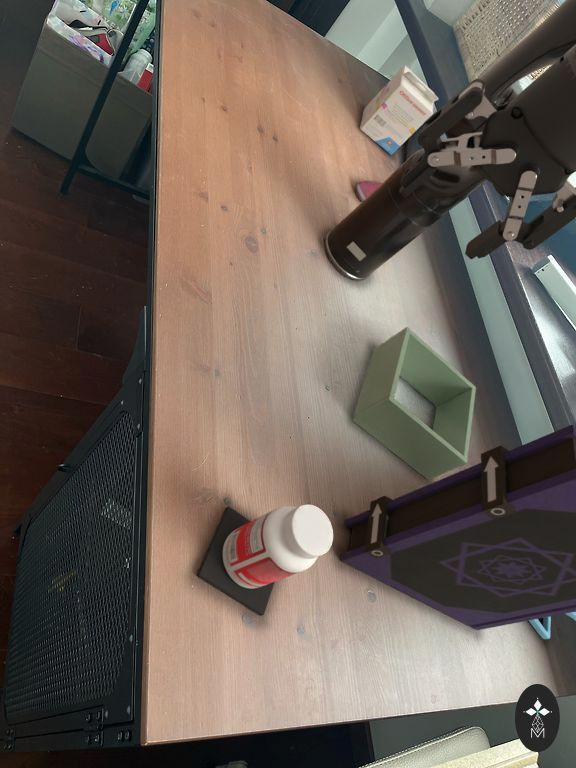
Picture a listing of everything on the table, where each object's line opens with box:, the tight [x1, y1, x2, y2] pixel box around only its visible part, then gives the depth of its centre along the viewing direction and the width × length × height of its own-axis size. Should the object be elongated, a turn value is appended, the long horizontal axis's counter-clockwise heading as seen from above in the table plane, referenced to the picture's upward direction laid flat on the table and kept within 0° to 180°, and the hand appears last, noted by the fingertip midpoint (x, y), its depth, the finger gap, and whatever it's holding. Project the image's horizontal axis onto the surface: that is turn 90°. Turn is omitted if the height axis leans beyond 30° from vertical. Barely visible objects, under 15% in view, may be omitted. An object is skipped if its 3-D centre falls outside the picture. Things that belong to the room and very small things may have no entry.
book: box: [339, 424, 576, 631], centre depth 66 cm, size 24×6×30 cm, turn 77°
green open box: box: [352, 326, 477, 481], centre depth 87 cm, size 15×15×7 cm
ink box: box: [359, 64, 439, 156], centre depth 120 cm, size 9×8×13 cm
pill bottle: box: [223, 503, 334, 588], centre depth 59 cm, size 6×6×11 cm
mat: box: [196, 506, 276, 617], centre depth 63 cm, size 8×8×1 cm
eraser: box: [354, 180, 383, 203], centre depth 112 cm, size 11×4×2 cm, turn 117°
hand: (436, 221), depth 56 cm, fingers open, 8 cm apart
